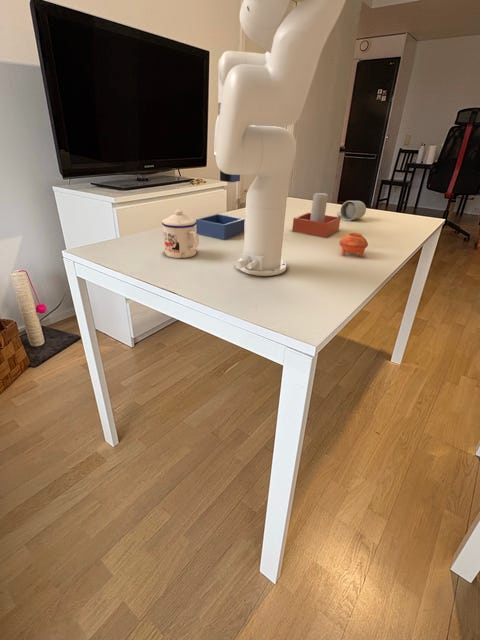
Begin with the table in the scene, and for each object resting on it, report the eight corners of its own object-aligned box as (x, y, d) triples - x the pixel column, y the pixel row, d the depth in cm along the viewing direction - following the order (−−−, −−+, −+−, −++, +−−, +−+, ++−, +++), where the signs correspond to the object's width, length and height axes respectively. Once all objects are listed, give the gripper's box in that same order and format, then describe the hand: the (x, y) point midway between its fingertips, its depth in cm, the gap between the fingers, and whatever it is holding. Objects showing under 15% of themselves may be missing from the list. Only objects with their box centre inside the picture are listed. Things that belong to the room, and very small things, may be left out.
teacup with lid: (157, 252, 95) (153, 209, 89) (183, 246, 101) (181, 205, 95) (184, 264, 88) (182, 218, 82) (210, 256, 94) (210, 213, 88)
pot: (352, 260, 95) (352, 235, 93) (333, 257, 102) (333, 234, 99) (374, 255, 98) (374, 231, 96) (354, 254, 105) (354, 231, 103)
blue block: (231, 182, 103) (232, 166, 101) (219, 180, 106) (220, 164, 103) (240, 181, 107) (240, 165, 104) (228, 179, 109) (228, 164, 107)
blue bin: (224, 239, 109) (224, 225, 107) (196, 233, 114) (195, 219, 112) (244, 232, 117) (244, 218, 115) (217, 226, 123) (217, 213, 121)
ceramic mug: (365, 219, 141) (369, 200, 138) (354, 222, 136) (358, 202, 133) (343, 215, 148) (346, 196, 145) (332, 217, 143) (335, 198, 140)
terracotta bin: (325, 237, 115) (327, 223, 113) (292, 231, 121) (293, 218, 119) (338, 230, 125) (340, 217, 122) (306, 224, 130) (308, 212, 128)
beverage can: (322, 231, 120) (328, 195, 114) (308, 230, 121) (313, 194, 115) (322, 228, 124) (327, 193, 118) (309, 227, 125) (313, 192, 119)
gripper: (237, 113, 105) (235, 177, 114) (202, 109, 93) (203, 181, 102) (258, 113, 101) (254, 179, 110) (224, 110, 89) (223, 184, 98)
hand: (229, 179), depth 106 cm, fingers closed on blue block, 4 cm apart
